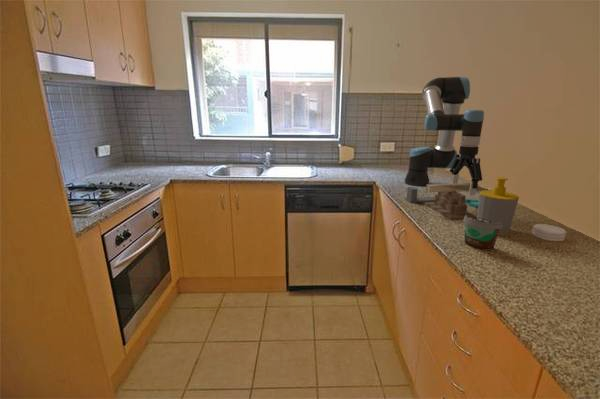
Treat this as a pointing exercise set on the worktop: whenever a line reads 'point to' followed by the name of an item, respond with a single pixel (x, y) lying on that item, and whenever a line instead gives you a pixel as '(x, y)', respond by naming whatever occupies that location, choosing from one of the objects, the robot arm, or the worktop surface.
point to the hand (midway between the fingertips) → (462, 191)
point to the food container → (481, 232)
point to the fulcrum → (450, 205)
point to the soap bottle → (498, 206)
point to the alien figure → (472, 202)
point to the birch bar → (448, 187)
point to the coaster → (548, 232)
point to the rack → (413, 196)
